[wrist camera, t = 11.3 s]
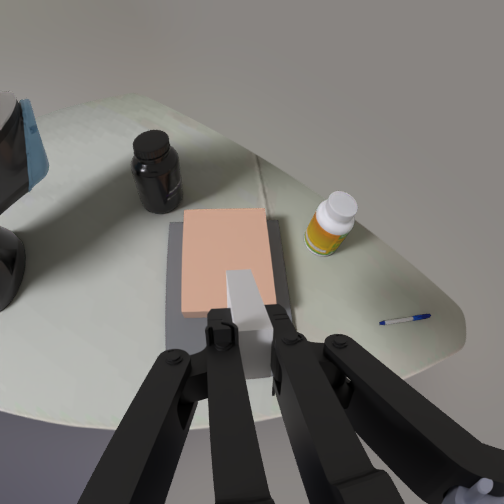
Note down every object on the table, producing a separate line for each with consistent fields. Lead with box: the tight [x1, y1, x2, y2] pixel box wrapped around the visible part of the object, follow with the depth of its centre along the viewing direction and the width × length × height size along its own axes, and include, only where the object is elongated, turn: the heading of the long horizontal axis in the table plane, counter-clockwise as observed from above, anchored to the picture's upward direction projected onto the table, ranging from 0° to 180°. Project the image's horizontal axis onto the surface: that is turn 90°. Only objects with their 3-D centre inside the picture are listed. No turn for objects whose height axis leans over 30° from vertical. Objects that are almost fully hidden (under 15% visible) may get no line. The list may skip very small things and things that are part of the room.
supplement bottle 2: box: [304, 191, 358, 256], centre depth 37 cm, size 5×5×10 cm
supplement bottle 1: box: [131, 130, 183, 214], centre depth 37 cm, size 7×7×12 cm
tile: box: [181, 208, 277, 318], centre depth 36 cm, size 3×11×14 cm
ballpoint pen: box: [379, 314, 431, 325], centre depth 37 cm, size 10×1×1 cm, turn 94°
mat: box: [165, 220, 292, 376], centre depth 36 cm, size 22×16×1 cm
